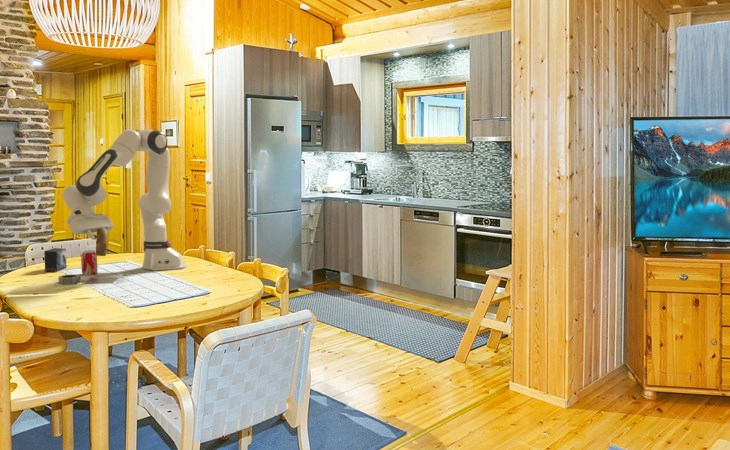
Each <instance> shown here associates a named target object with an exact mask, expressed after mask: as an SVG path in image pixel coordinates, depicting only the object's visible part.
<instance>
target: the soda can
mask: <svg viewBox="0 0 730 450" xmlns="http://www.w3.org/2000/svg"><path fill="white" fill-rule="evenodd" d="M95 253H96V250H83V251H82V253H81V254H80V255H81V257H80V260H81V261H80V262H81V263H80V266H81V274H82V275H83V276H93V275H98V256H96V255H95Z"/></svg>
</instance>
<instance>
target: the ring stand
mask: <svg viewBox="0 0 730 450" xmlns="http://www.w3.org/2000/svg"><path fill="white" fill-rule="evenodd" d="M54 284H55V286H60V287H64V286H65V287H69V286H77V285H82V284H85V280H81V275H80V274H65V275H60V276H58V282H56V283H54Z"/></svg>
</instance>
